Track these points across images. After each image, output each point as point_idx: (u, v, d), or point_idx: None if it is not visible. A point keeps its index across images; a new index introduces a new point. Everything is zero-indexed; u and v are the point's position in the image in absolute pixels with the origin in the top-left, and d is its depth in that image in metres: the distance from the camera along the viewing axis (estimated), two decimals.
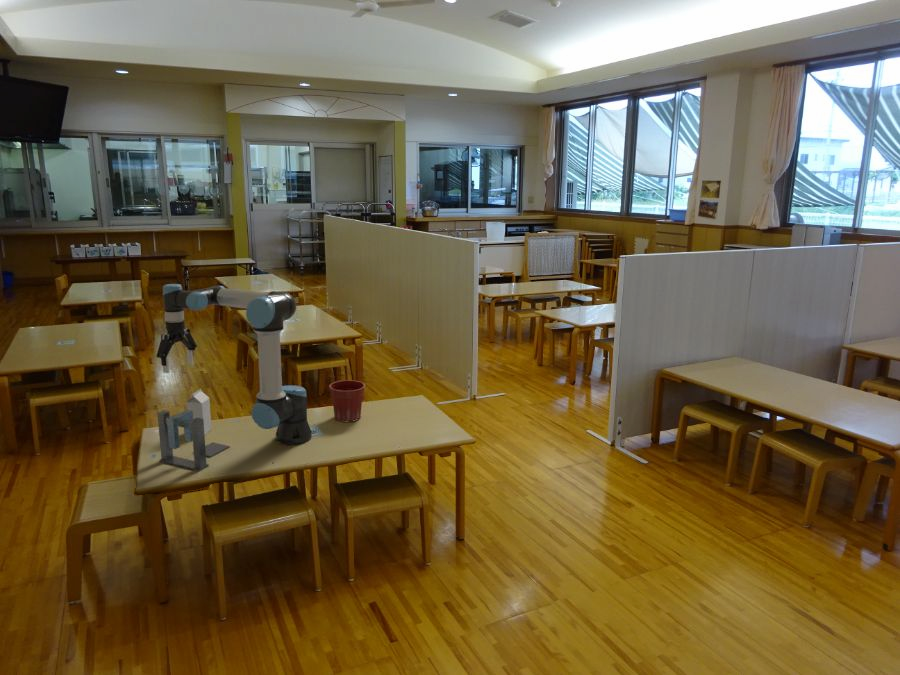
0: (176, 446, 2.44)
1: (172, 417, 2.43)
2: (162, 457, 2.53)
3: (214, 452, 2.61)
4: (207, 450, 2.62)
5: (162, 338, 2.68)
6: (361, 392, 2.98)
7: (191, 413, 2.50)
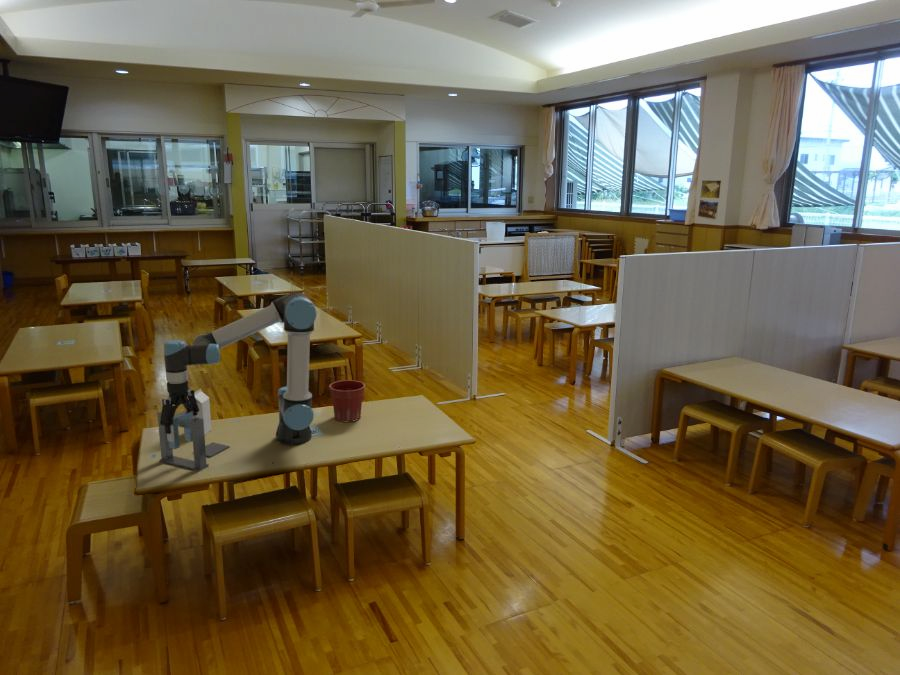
0: (176, 446, 2.44)
1: None
2: (162, 457, 2.53)
3: (214, 452, 2.61)
4: (207, 450, 2.62)
5: (163, 403, 2.39)
6: (361, 392, 2.98)
7: (191, 413, 2.50)
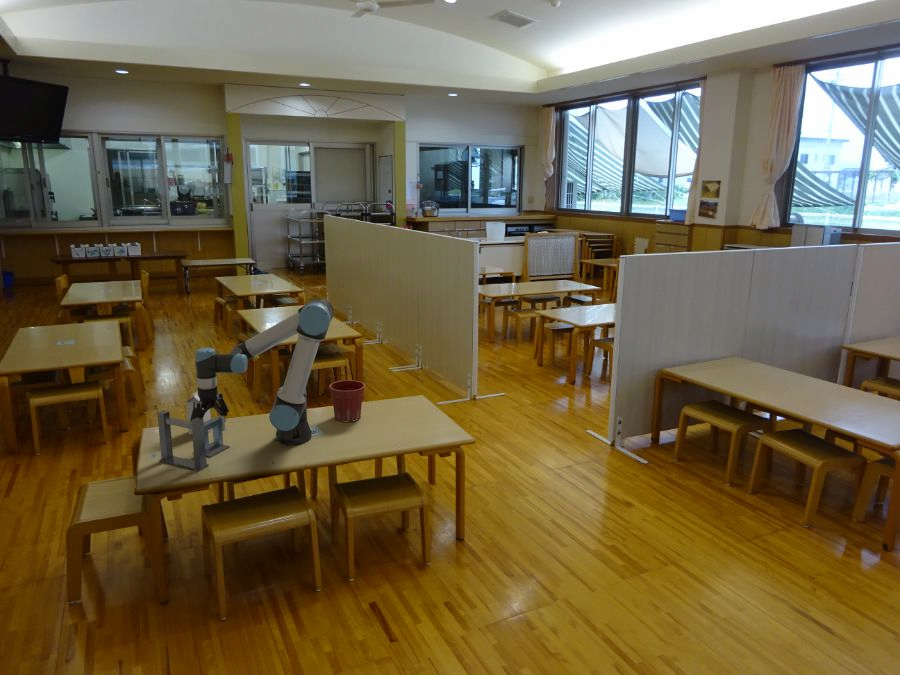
0: (206, 451, 2.59)
1: None
2: (162, 457, 2.53)
3: (214, 452, 2.61)
4: None
5: (194, 406, 2.53)
6: (361, 392, 2.98)
7: (220, 420, 2.64)
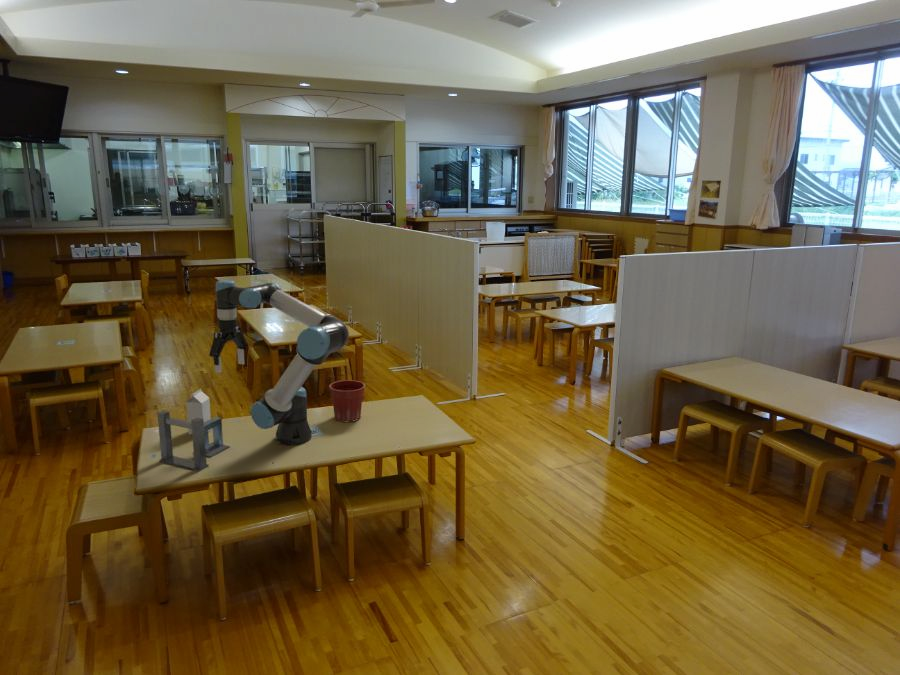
0: (206, 451, 2.59)
1: None
2: (162, 457, 2.53)
3: (214, 452, 2.61)
4: None
5: (215, 336, 2.59)
6: (361, 392, 2.98)
7: (220, 420, 2.64)
